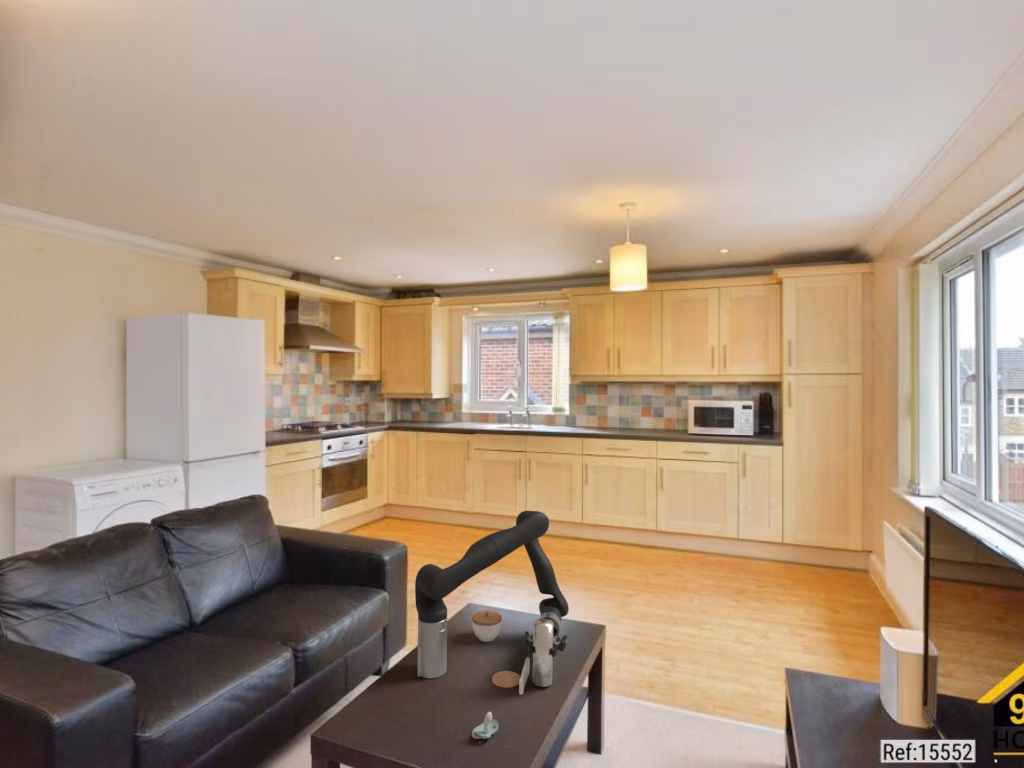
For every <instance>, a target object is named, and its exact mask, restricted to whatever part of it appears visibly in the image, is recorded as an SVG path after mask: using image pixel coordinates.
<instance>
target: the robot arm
mask: <svg viewBox="0 0 1024 768" xmlns="http://www.w3.org/2000/svg"><path fill="white" fill-rule="evenodd" d="M549 527H550V520H549V517H548V516H547V514H545V513H544V512H542V511H537V510H522V511H521V512H520V513H519V514H518V515H517V517H516V520H515V525H514V526H512V527H508V528H506V529H501V530H498V531H495V532H492V533H490V534H487V535H485V536H484V537H482V538H480V539H478V540H477V541H475V542H474V543H473V544H471V545H470V546H469V547H468V549H467V551H465V553H464V555H463V556H462V557H461V559H459V560H457V562H455V563H453V564H451V565H449V566H447V567H445V568H441V567H440V566H438V565H435V564H433V563H428V564H425V565H423V566H421V568H420V569H419V570H418V571H417V574H416V575H415V581H414V582H415V583H414V590H415V591H414V592H415V593H414V594H415V608H416V611H417V618H418V619H417V656H416V657H417V667H416V669H417V670H416V671H417V673H416V675H417V676H416V677H417V678H418V677H419V678H420V677H422V678H425V679H435V678H439V677H442V676H444V675H445V674H446V672H447V663H448V661H447V659H448V656H447V655H448V654H447V653H448V652H447V651H448V649H447V648H448V645H447V644H448V608H447V605H446V604H445V602H444V599H445V598H446V597H447V596H449V595H450V594H451V593H453V592H454V591H456V589H457V588H459V587H460V586H461V585H463V584H464V583H465V582H467V581H468V580H470V579H471V578H473V577H475V576H476V575H478V574H480V573H481V572H482V571H484V570H486V569H488V568H490V567H491V566H492V565H494V564H496V563H497V562H499V561H501V560H502V559H503V558H505V557H507V556H508V555H510V554H511V553H513V552H514V551H516V550H517V549H518V548H520V547H522V546H524V548H525V551H526V553H527V555H528V557H529V561H530V564H531V566H532V569H533V572H534V577H535V580H536V585H537V588H538V590H539V591H538V592H539V593H540V594H541V595H549V596H552V597H548V598H543V599H542V600H541V601H540V602H539V604H538V610H539V614H540V618H539V619H548V620H551V621H552V622H553V647H552V657H553V658H555V656H557V653H558V651H559V652H561V653H562V652H564V651H565V649H566V647H567V645H568V635H566V634H565V635H563V636H560V635H559V634H560V632H561V622H562V617H563V618H564V617H566V616H567V615H568V614H569V603H568V601H567V600H566V597H565V596H564V594H563V593H562V591H561V589H560V587H559V584H558V582H557V578H556V575H555V571H554V570H555V569H554V568H553V565H552V563H551V561H550V560H549V558H548V556H547V554H546V553H545V552H544V550H543V548H542V546H541V543H540V540H539V538H542V537H543V536H544V535H545V534H546V533H547V532H548V529H549ZM524 648H527V649H528V651H527V652H528V653H529V654H530V655H532V656H533V633H530V632H529V630H528V631H527V630H526V631H524Z"/></svg>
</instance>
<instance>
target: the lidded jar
mask: <svg viewBox="0 0 1024 768" xmlns="http://www.w3.org/2000/svg"><path fill="white" fill-rule="evenodd" d="M502 620H503V616H502V614H501V613H499V612H498V611H495V610H489V609H488V610H487V609H486V610H480V611H477V612H474V613H473V615H472V616H471V621H472V625H471V626H472V630H473V633H474V635H475V637H476V638H478V640H479V641H481V642H485V643H488V642H489V643H490V642H492V641H494V640H495V639H496V638H497V636H498V635H499V634H500V631H501V628H502Z"/></svg>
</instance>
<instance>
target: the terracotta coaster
mask: <svg viewBox="0 0 1024 768" xmlns="http://www.w3.org/2000/svg"><path fill="white" fill-rule="evenodd" d="M520 677H521V675H520V674H519V673H517V672H514V671H510V670H501V671H498V672H496V673H494V674H493V675H492V677H491V682H492V684H493V685H495V686H496V687H499V688H505V689H509V688H514V687H516V686H519V680H520Z"/></svg>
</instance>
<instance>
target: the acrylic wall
mask: <svg viewBox="0 0 1024 768" xmlns="http://www.w3.org/2000/svg"><path fill="white" fill-rule="evenodd" d="M530 662H531V661H530V657H527V656H526V658H525V661H524V664H523V667H522V670H521V674H520V680H519V684H518V688H519V689H518V695H521V696H522V695H524V691H525V687H526V683H527V680H528V677H529V673H530V666H531V665H530Z"/></svg>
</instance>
